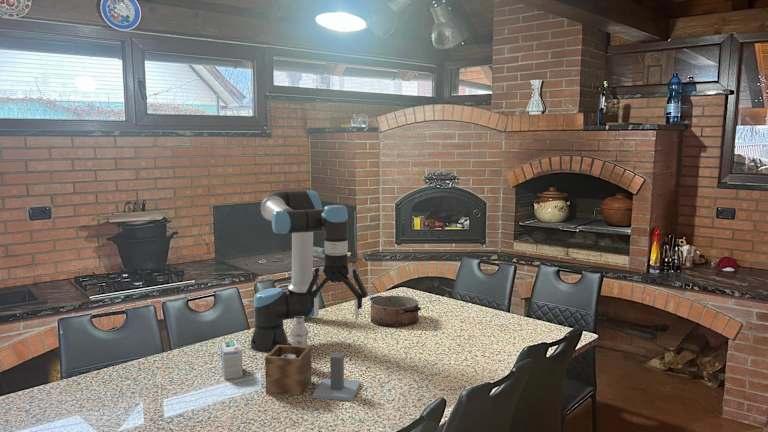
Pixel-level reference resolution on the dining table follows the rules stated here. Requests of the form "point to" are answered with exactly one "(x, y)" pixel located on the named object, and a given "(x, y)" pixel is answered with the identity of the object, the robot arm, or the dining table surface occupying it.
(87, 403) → the dining table surface
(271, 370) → the crate
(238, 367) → the light bulb box
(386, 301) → the cooking pot
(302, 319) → the plastic bottle
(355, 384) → the lid
